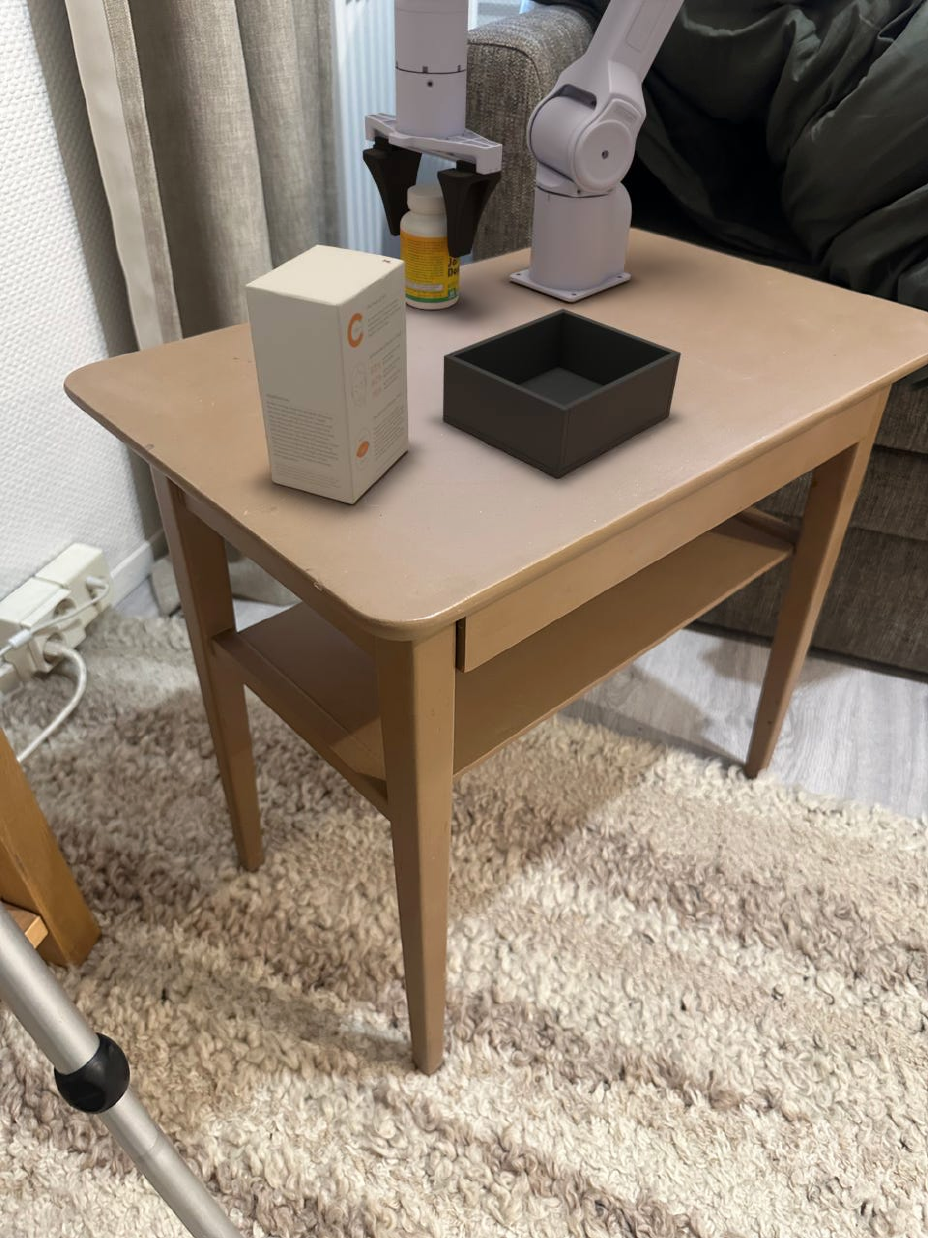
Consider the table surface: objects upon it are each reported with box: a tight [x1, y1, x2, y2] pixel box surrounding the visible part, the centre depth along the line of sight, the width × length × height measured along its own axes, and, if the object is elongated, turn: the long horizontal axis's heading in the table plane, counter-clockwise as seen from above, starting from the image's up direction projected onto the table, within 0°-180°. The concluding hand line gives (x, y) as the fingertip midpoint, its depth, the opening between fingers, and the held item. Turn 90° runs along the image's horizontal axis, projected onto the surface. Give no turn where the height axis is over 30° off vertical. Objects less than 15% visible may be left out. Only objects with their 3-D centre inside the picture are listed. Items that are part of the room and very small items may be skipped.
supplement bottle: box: [399, 183, 461, 310], centre depth 80 cm, size 5×5×10 cm
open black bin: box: [442, 308, 682, 479], centre depth 65 cm, size 13×11×5 cm
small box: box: [244, 244, 410, 505], centre depth 56 cm, size 8×6×13 cm
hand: (429, 243), depth 80 cm, fingers open, 7 cm apart
